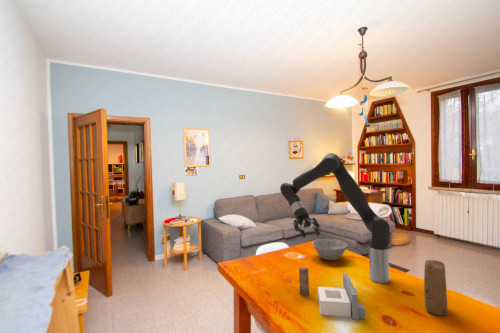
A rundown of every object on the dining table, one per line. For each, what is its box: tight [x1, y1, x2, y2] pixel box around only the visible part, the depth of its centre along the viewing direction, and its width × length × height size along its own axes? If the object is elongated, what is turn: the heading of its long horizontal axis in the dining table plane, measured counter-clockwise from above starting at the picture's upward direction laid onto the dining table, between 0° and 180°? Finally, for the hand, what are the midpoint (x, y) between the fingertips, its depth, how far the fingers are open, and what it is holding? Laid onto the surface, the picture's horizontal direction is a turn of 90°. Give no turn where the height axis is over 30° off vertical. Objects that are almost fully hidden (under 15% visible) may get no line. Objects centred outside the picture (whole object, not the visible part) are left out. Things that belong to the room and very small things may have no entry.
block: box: [423, 259, 448, 317], centre depth 102 cm, size 11×8×20 cm
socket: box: [317, 286, 352, 318], centre depth 106 cm, size 12×12×6 cm
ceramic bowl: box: [312, 238, 348, 261], centre depth 162 cm, size 22×23×10 cm
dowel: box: [298, 266, 310, 297], centre depth 118 cm, size 4×4×12 cm
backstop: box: [342, 272, 366, 321], centre depth 106 cm, size 20×5×10 cm, turn 169°
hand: (311, 236), depth 129 cm, fingers open, 8 cm apart
